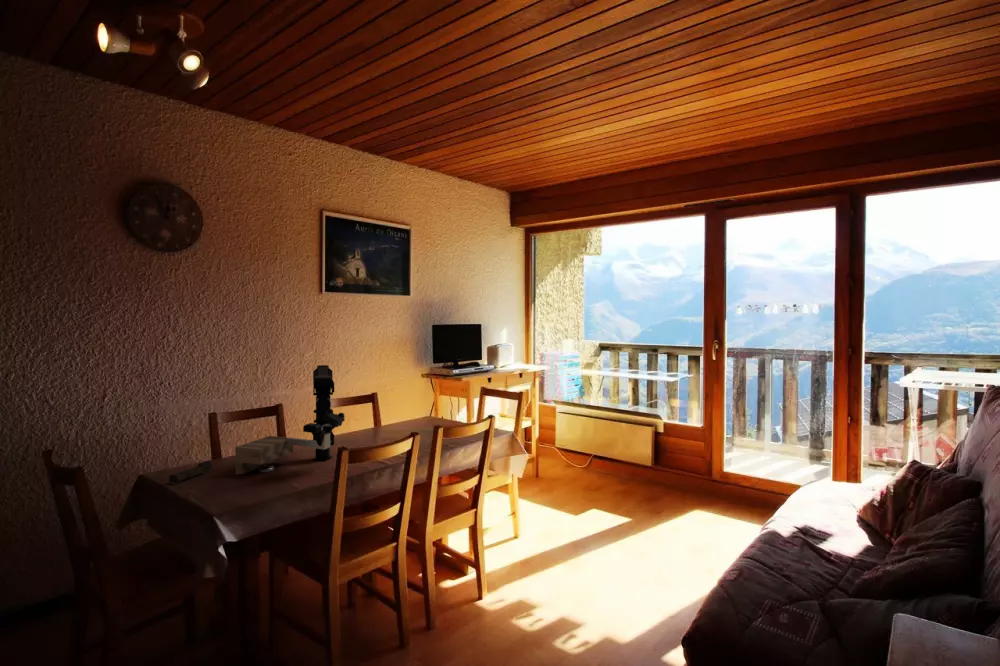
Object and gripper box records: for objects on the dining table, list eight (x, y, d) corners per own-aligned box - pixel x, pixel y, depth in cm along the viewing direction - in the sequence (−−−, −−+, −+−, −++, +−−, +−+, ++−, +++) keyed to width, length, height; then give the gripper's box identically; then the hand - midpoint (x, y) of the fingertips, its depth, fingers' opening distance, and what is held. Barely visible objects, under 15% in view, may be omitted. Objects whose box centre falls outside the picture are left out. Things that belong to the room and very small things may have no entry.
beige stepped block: (269, 460, 236) (269, 435, 235) (293, 463, 232) (293, 438, 232) (235, 474, 216) (235, 447, 216) (260, 477, 213) (260, 449, 213)
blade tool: (291, 442, 230) (291, 428, 229) (330, 447, 224) (330, 432, 224) (285, 445, 226) (285, 430, 226) (324, 449, 220) (324, 435, 220)
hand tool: (176, 485, 203) (176, 473, 202) (168, 484, 204) (168, 472, 204) (217, 471, 221) (217, 460, 220) (209, 470, 222) (209, 459, 222)
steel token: (265, 468, 226) (265, 464, 226) (277, 469, 224) (277, 466, 224) (254, 472, 220) (254, 468, 220) (267, 473, 218) (267, 470, 218)
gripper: (326, 413, 211) (326, 452, 212) (352, 404, 229) (352, 440, 230) (302, 411, 214) (302, 449, 215) (330, 402, 232) (330, 438, 233)
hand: (323, 444), depth 223 cm, fingers closed on blade tool, 4 cm apart
